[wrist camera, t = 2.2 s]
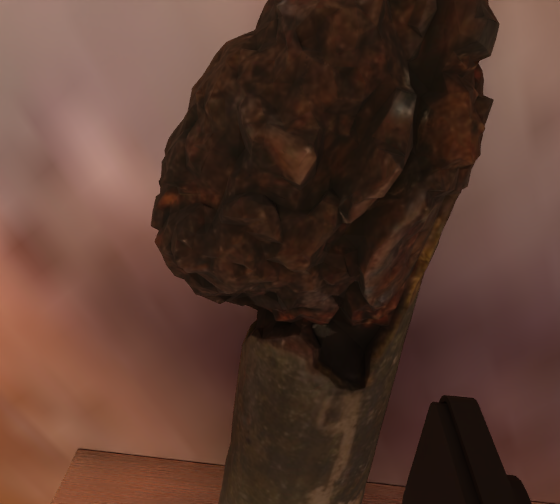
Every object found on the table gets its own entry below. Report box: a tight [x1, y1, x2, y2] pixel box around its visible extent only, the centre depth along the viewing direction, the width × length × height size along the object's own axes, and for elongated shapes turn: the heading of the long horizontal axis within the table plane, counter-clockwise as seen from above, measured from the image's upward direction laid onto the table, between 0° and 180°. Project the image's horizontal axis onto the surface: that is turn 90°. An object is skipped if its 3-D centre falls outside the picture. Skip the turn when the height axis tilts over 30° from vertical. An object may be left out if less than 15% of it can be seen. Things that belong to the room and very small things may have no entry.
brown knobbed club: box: [151, 0, 499, 504], centre depth 14 cm, size 18×7×6 cm, turn 173°
